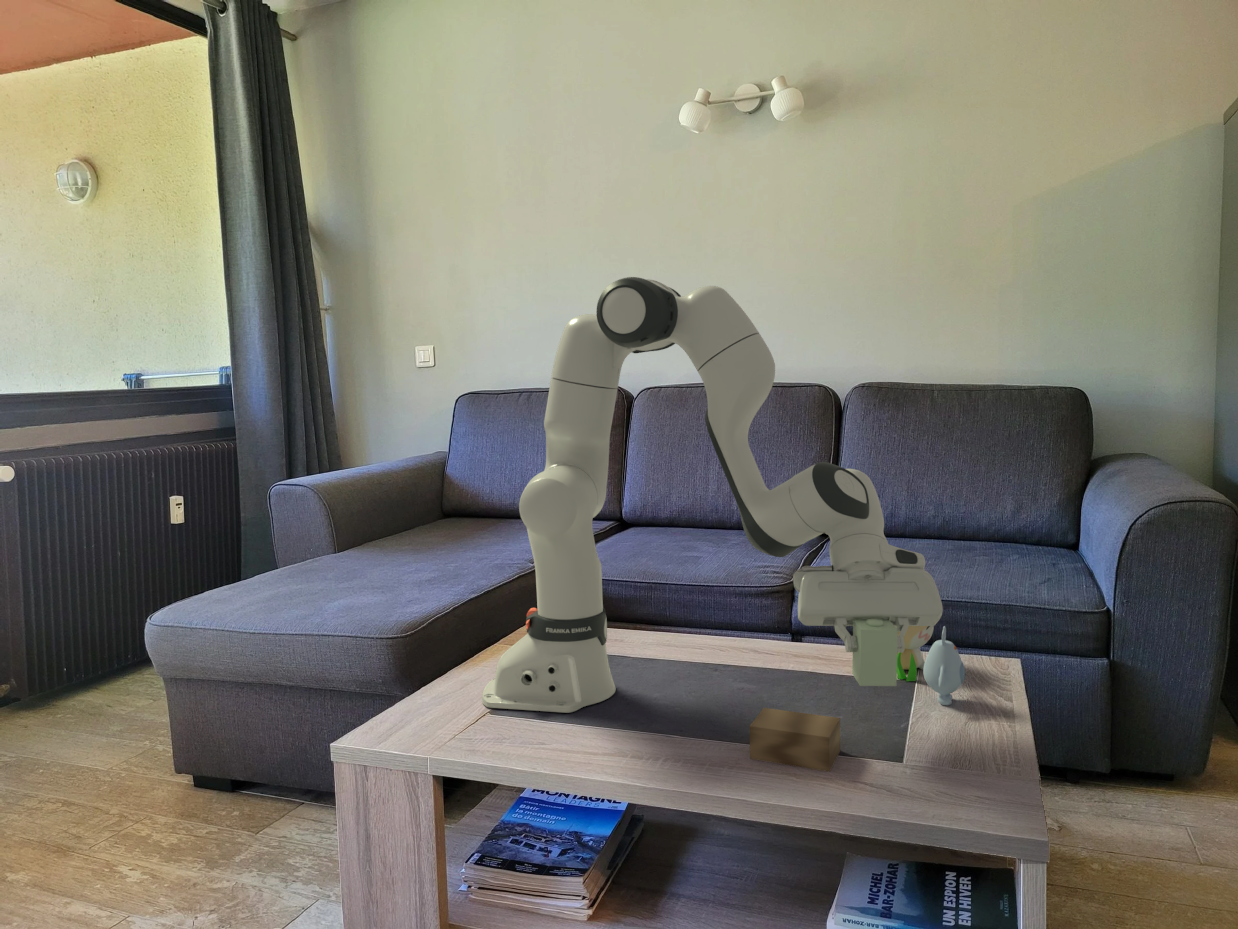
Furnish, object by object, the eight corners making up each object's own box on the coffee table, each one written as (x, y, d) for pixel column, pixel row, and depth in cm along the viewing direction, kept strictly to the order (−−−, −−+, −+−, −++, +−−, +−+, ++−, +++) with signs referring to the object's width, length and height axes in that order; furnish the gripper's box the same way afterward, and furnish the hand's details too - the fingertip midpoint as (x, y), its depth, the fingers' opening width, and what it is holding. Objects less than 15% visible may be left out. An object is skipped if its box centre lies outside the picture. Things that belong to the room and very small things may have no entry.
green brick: (859, 685, 122) (860, 626, 121) (852, 673, 127) (853, 616, 126) (896, 686, 122) (897, 626, 121) (887, 673, 127) (888, 616, 126)
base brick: (750, 760, 123) (749, 726, 122) (764, 740, 129) (763, 707, 128) (829, 773, 118) (829, 737, 117) (840, 752, 124) (840, 718, 124)
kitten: (942, 683, 148) (942, 596, 147) (880, 682, 150) (880, 596, 149) (927, 655, 163) (927, 575, 161) (871, 654, 165) (870, 575, 163)
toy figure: (963, 716, 135) (963, 639, 133) (920, 711, 137) (920, 636, 136) (966, 692, 144) (966, 620, 143) (926, 687, 147) (926, 617, 145)
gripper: (793, 554, 130) (803, 639, 122) (934, 554, 129) (954, 640, 121) (789, 577, 135) (798, 660, 127) (925, 577, 134) (943, 661, 125)
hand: (875, 650), depth 124 cm, fingers closed on green brick, 5 cm apart
